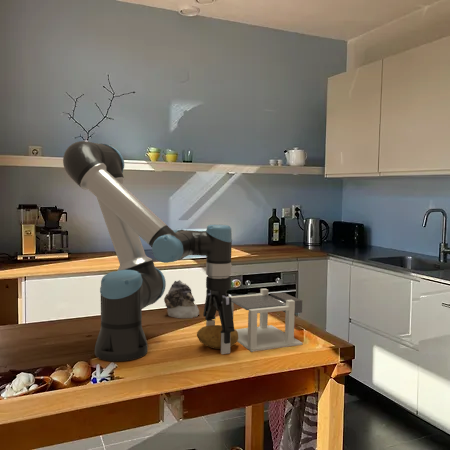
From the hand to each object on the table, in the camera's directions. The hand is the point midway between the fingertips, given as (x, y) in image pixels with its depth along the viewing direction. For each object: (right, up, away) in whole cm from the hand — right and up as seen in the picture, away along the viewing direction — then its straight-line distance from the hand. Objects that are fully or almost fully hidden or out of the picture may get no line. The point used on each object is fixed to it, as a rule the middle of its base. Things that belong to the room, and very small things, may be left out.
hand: (217, 346), depth 145 cm
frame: (+14, 0, +10) cm, 17 cm away
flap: (+15, +9, +9) cm, 20 cm away
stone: (-14, +3, +35) cm, 38 cm away
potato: (0, -1, 0) cm, 0 cm away
